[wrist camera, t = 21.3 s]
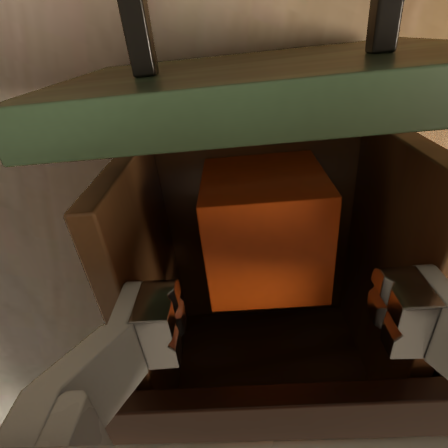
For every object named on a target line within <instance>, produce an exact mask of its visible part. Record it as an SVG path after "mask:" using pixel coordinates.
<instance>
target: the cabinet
mask: <svg viewBox="0 0 448 448" xmlns="http://www.w3.org/2000/svg"><path fill="white" fill-rule="evenodd" d="M105 430H106V432H107V434H108V436H109V437H110V439H111V441H112V443H113V445H129V444H167V443H204V442H241V441H276V440H312V439H348V438H385V437H422V436H448V380H447V379H446V378H445V377H443V376H442V375H441V374H440V373H439V372H437V371H436V370H434V373H433V375H432V377H418V378H396V379H374V380H352V381H330V382H307V383H285V384H263V385H241V386H219V387H196V388H174V389H152V390H134V391H133V393H132V394H131V395H130V397H129V398H128V399H127V400H126V402H125V403H124V404H123V406H122V407H121V408H120V409H119V411H118V412H117V413H116V414H115V416H114V417H113V418H112V420H111V421H110V422H109V423H108V425H107V426H106V427H105Z"/></svg>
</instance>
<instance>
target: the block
mask: <svg viewBox="0 0 448 448" xmlns="http://www.w3.org/2000/svg"><path fill="white" fill-rule="evenodd" d="M341 207H342V196H341V195H340V193H339V192H338V190H337V189H336V187H335V186H334V184H333V183H332V181H331V180H330V178H329V177H328V175H327V174H326V172H325V171H324V169H323V168H322V166H321V165H320V163H319V162H318V160H317V159H316V157H315V156H314V154H313V153H312V151H311V150H305V151H293V152H281V153H270V154H258V155H246V156H234V157H222V158H210V159H205V160H204V166H203V172H202V177H201V183H200V188H199V194H198V199H197V205H196V214H197V220H198V227H199V233H200V240H201V246H202V253H203V259H204V266H205V272H206V279H207V285H208V292H209V298H210V305H211V311H212V312H220V311H237V310H255V309H272V308H289V307H306V306H324V305H331V304H332V294H333V284H334V275H335V265H336V255H337V246H338V236H339V226H340V217H341Z"/></svg>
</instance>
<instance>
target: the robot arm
mask: <svg viewBox="0 0 448 448" xmlns="http://www.w3.org/2000/svg"><path fill="white" fill-rule="evenodd" d="M371 281H372V282H373V284H374V287H373V288H372V289H371V290H369V292H368V299H367V303H368V311H369V315H370V318H371V320H372V322H373V325H375V326H376V327H377V328H379V329H380V330H382V331H381V336H380V339H381V341H382V343H383V345H384V348H385V350H386V352H387V354H388V356H389V358H390V359H424V361H425V362H427V363H428V364H429V365H430V366H431V367H433V368H434V369H435V370H436V371H437V372H439V373H440V374H441V375H442V376H443V377H445V378H446V379H447V380H448V279H447V278H446V277H445V275H444V274H443V273H442V272H441V271H440V270H439V268H438V267H437V266H435V265H433V264H423V265H412V266H399V267H384V268H374V270H373V272H372V276H371ZM180 295H181V286H180V282H179V280H178V279H174V280H145V281H127V282H126V283H125V284H124V285H123V287H122V289H121V292H120V294H119V297H118V299H117V301H116V304H115V306H114V309H113V311H112V314H111V316H110V318H109V321H108V323H107V325H101V326H100V327H99V328H98V329H96V330H95V331H94V332H93V333H91V334H90V335H89V336H88V337H86V338H85V339H84V340H83V341H82V342H80V343H79V344H78V345H77V346H75V347H74V348H73V349H72V350H70V351H69V352H68V353H67V354H66V355H64V356H63V357H62V358H61V359H59V360H58V361H57V362H56V363H54V364H53V365H52V366H51V367H50V368H48V369H47V370H46V371H45V372H43V373H42V374H41V375H40V376H39V377H37V378H36V379H35V380H34V381H32V382H31V383H30V384H29V385H27V386H26V387H25V388H24V389H23V390H21V392H20V393H19V395H18V397H17V399H16V400H15V402H14V404H13V406H12V407H11V409H10V411H9V413H8V414H7V416H6V418H5V420H4V421H3V423H2V425H1V427H0V448H448V436H422V437H385V438H348V439H312V440H276V441H241V442H204V443H167V444H129V445H113V443H112V441H111V439H110V437H109V436H108V434H107V432H106V430H105V427H106V426H107V425H108V423H109V422H110V421H111V420H112V418H113V417H114V416H115V414H116V413H117V412H118V411H119V409H120V408H121V407H122V406H123V404H124V403H125V402H126V400H127V399H128V398H129V397H130V395H131V394H132V393H133V391H134V390H135V389H136V388H137V386H138V385H139V384H140V382H141V381H142V380H143V379H144V377H145V376H146V375H147V373H148V372H149V371H148V370H155V369H169V368H179V366H180V360H181V353H182V342H181V337H182V336H183V335H184V333H185V326H186V313H185V305H184V301H183V300H182V299H180Z"/></svg>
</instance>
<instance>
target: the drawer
mask: <svg viewBox="0 0 448 448" xmlns="http://www.w3.org/2000/svg"><path fill="white" fill-rule="evenodd" d="M117 3H118V8H119V13H120V17H121V22H122V27H123V31H124V36H125V41H126V45H127V50H128V55H129V59H130V64H131V65H123V66H114V67H106V68H103V69H100V70H97V71H94V72H91V73H88V74H84V75H81V76H78V77H75V78H72V79H69V80H66V81H63V82H60V83H57V84H54V85H51V86H48V87H45V88H41V89H38V90H35V91H32V92H29V93H26V94H23V95H20V96H17V97H14V98H11V99H8V100H5V101H2V102H0V160H1V163H2V165H3V166H4V167H14V166H25V165H37V164H49V163H60V162H72V161H84V160H95V159H107V158H113V159H112V160H111V161H110V162H109V163H108V165H107V166H106V167H105V168H104V169H103V170H102V171H101V173H100V174H99V175H98V176H97V177H96V178H95V179H94V180H93V182H92V183H91V184H90V185H89V186H88V187H87V188H86V190H85V191H84V192H83V193H82V194H81V195H80V196H79V197H78V199H77V200H76V201H75V202H74V203H73V204H72V205H71V207H70V208H69V209H68V210H67V211H66V212H65V213H64V220H65V223H66V225H67V228H68V230H69V233H70V236H71V238H72V241H73V243H74V246H75V248H76V251H77V253H78V256H79V258H80V261H81V264H82V266H83V269H84V271H85V274H86V276H87V279H88V281H89V284H90V286H91V289H92V291H93V294H94V297H95V299H96V302H97V304H98V307H99V309H100V312H101V314H102V317H103V319H104V322H105V325H107V323H108V321H109V318H110V316H111V314H112V311H113V309H114V306H115V304H116V301H117V299H118V297H119V294H120V292H121V289H122V287H123V285H124V284H125V283H126V282H127V281H145V280H174V279H178V280H179V282H180V286H181V295H180V299H182V300H183V301H184V305H185V313H186V326H185V333H184V335H183V336H182V337H181V342H182V353H181V360H180V366H179V368H169V369H155V370H148V371H149V372H148V373H147V375H146V376H145V377H144V379H143V380H142V381H141V382H140V384H139V385H138V386H137V388H136V389H135V390H152V389H174V388H196V387H219V386H241V385H263V384H285V383H307V382H330V381H352V380H374V379H396V378H418V377H432V375H433V373H434V370H435V369H434V368H433V367H431V366H430V365H429V364H428V363H427V362H425V361H424V359H390V358H389V356H388V354H387V352H386V350H385V348H384V345H383V343H382V341H381V339H380V336H381V331H382V330H380V329H379V328H377V327H376V326H375V325H373V322H372V320H371V318H370V315H369V311H368V303H367V299H368V292H369V290H371V289H372V288H373V287H374V284H373V282H372V281H371V276H372V272H373V270H374V268H384V267H399V266H412V265H423V264H433V265H435V266H437V267H438V268H439V270H440V271H441V272H442V273H443V274H444V275H445V277H446V278H447V279H448V150H447V149H446V148H444V147H442V146H440V145H438V144H437V143H435V142H433V141H431V140H429V139H428V138H426V137H424V136H422V135H420V134H419V133H417V132H420V131H432V130H444V129H448V40H445V39H426V38H408V37H398V36H399V29H400V23H401V17H402V10H403V4H404V0H371V1H370V10H369V19H368V28H367V36H366V41H358V42H349V43H339V44H329V45H319V46H309V47H300V48H290V49H280V50H270V51H260V52H251V53H241V54H231V55H221V56H212V57H202V58H192V59H182V60H172V61H163V62H157V56H156V51H155V45H154V39H153V33H152V28H151V22H150V16H149V11H148V5H147V0H117ZM305 150H311V151H312V153H313V154H314V156H315V157H316V159H317V160H318V162H319V163H320V165H321V166H322V168H323V169H324V171H325V172H326V174H327V175H328V177H329V178H330V180H331V181H332V183H333V184H334V186H335V187H336V189H337V190H338V192H339V193H340V195H341V196H342V207H341V217H340V226H339V236H338V246H337V255H336V265H335V275H334V284H333V294H332V304H331V305H324V306H306V307H289V308H272V309H255V310H237V311H220V312H212V311H211V305H210V298H209V292H208V285H207V279H206V272H205V266H204V259H203V253H202V246H201V240H200V233H199V227H198V220H197V214H196V205H197V199H198V194H199V188H200V183H201V177H202V172H203V166H204V160H205V159H210V158H222V157H234V156H246V155H258V154H270V153H281V152H293V151H305Z"/></svg>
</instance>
